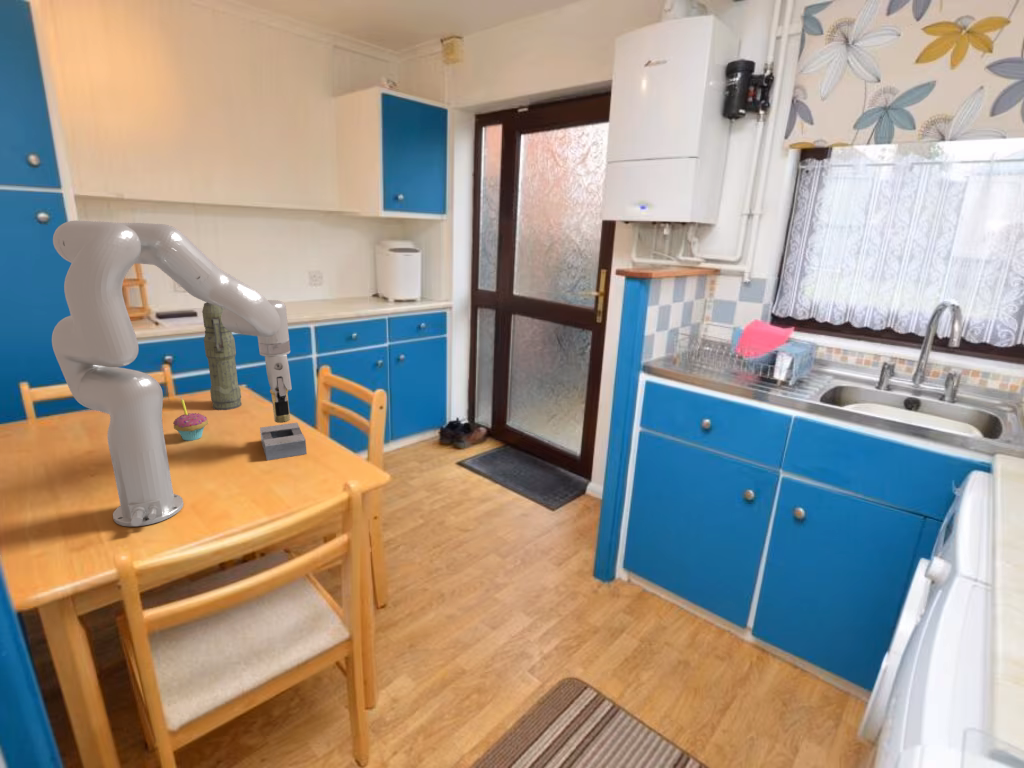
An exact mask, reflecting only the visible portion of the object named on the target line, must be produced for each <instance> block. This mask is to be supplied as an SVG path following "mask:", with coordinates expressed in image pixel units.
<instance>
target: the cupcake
mask: <svg viewBox="0 0 1024 768" xmlns="http://www.w3.org/2000/svg"><path fill="white" fill-rule="evenodd" d="M180 398H181V400H180V402H181V405H182V409H183V414H182V415H179V416H178V417H176V418H175V420H174V421H173V422H172V423H173V429H174V430H176V431H177V432H178V433H179V435H180V437H181V438H182V440H184V441H187V442H192V441H196V440H199V439H201V438H202V437H203V432H204V429H205V427H206V426H208V425H209V419H208V418H207V416H205V415H204V414H203V415H202V414H201V413H199V412H198V413H196V412H195V413H193V412H191V413H188V411H187V406H186V404H185V400H184V399H183V398H182V397H180Z"/></svg>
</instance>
